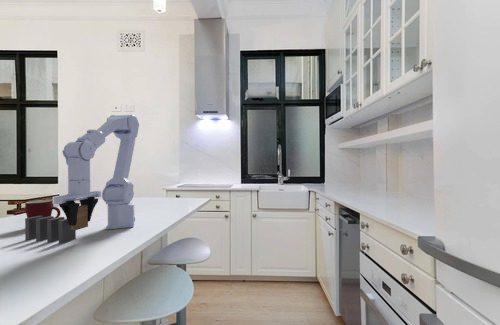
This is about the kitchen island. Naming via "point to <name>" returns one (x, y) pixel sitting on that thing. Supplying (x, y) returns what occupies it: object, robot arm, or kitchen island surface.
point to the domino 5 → (81, 218)
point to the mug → (40, 208)
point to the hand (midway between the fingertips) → (79, 223)
